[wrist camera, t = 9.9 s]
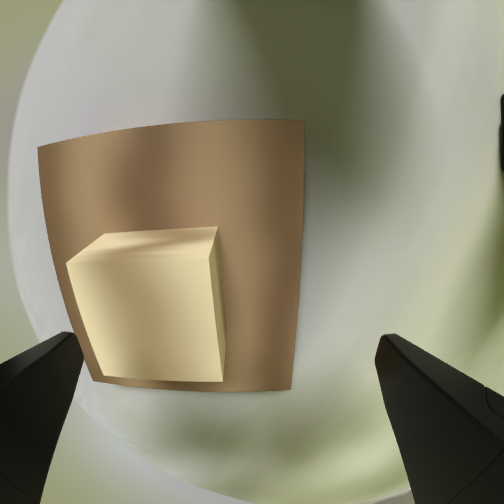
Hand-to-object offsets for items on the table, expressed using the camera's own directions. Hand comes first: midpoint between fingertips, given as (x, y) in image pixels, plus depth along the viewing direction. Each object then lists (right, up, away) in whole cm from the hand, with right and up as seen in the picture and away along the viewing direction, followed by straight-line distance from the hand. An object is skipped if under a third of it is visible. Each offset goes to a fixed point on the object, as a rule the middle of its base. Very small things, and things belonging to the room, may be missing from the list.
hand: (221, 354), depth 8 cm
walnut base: (-4, +2, +10) cm, 11 cm away
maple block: (-4, +1, +7) cm, 8 cm away
